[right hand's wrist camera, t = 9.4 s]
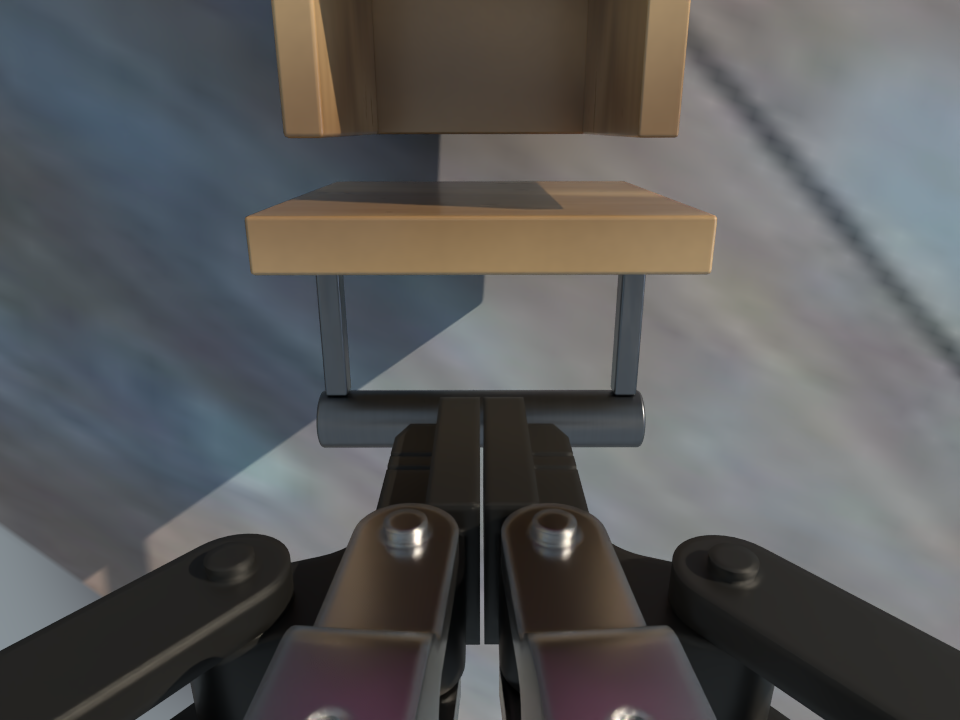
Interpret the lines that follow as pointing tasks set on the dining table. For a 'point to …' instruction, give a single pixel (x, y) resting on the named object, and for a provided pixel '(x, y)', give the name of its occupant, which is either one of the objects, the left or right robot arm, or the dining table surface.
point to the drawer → (480, 205)
